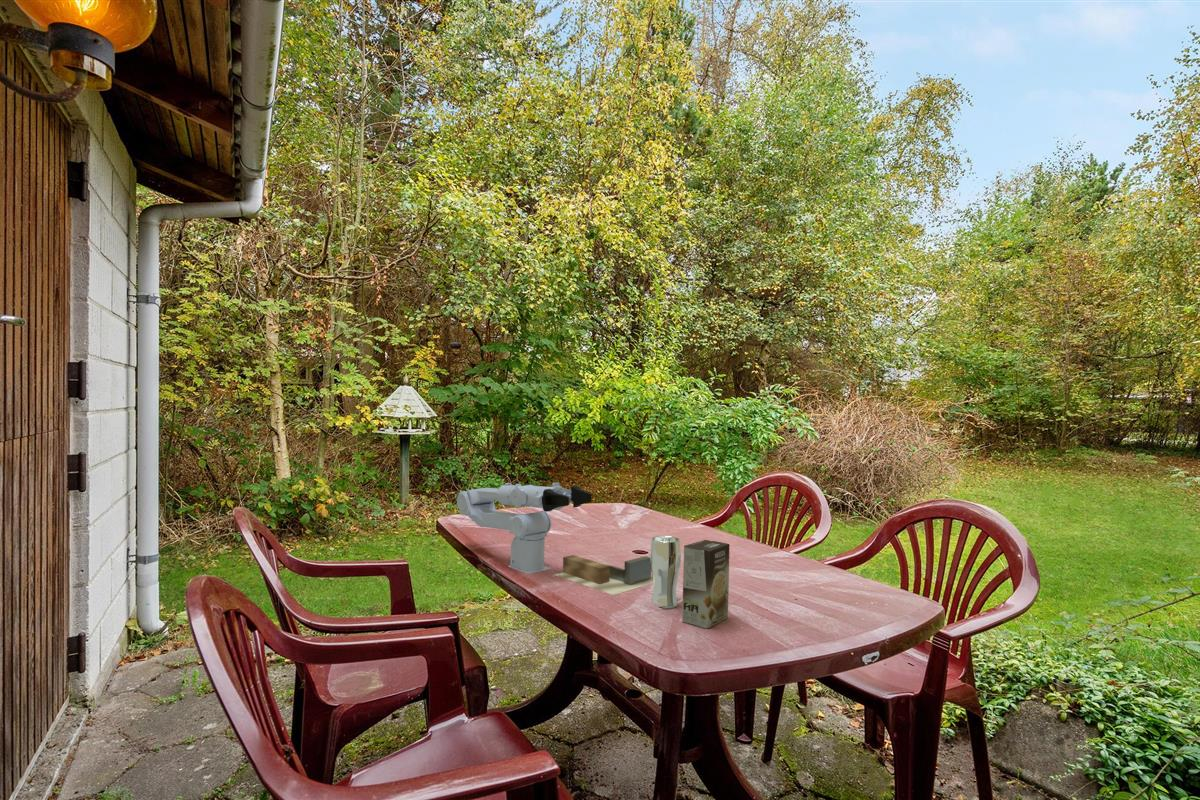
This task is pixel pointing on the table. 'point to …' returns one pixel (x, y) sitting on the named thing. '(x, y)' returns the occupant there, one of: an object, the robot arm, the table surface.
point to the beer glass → (665, 570)
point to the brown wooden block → (586, 569)
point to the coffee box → (705, 583)
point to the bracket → (632, 571)
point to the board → (606, 584)
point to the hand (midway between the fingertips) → (579, 499)
